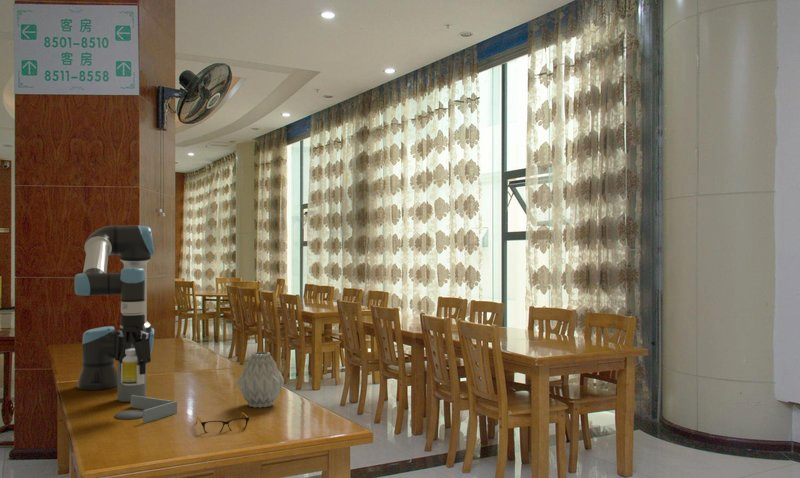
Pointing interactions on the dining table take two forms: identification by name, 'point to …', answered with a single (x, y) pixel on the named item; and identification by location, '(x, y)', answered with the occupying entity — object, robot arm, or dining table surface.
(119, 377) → the water bottle
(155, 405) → the fence long
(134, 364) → the pill bottle
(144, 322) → the robot arm
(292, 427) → the dining table surface
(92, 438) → the dining table surface
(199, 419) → the eyeglasses
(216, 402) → the dining table surface
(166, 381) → the dining table surface
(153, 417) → the fence end
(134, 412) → the coaster
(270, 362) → the vase
